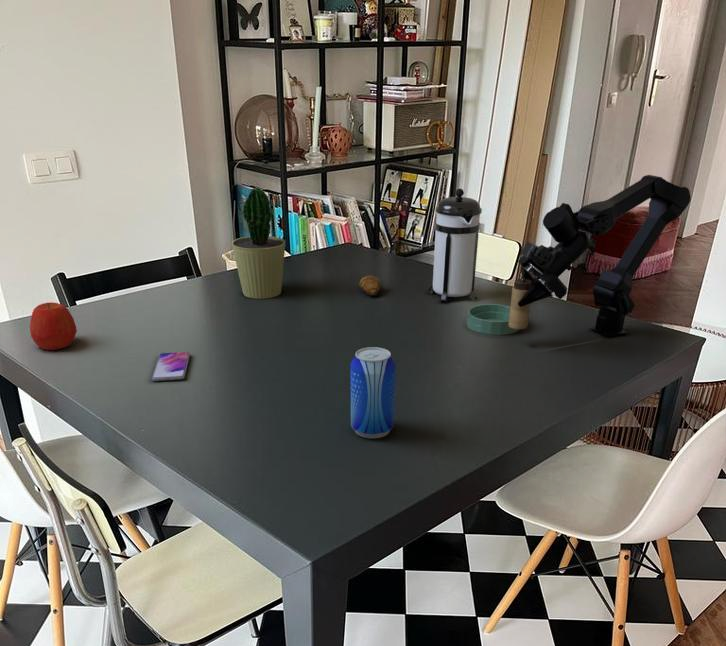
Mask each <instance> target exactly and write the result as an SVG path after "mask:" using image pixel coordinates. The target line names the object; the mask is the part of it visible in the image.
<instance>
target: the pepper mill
mask: <svg viewBox="0 0 726 646" xmlns="http://www.w3.org/2000/svg"><path fill="white" fill-rule="evenodd" d="M531 283H532V282H531V281H530V280H527V279H525V278H522V279H521V278H516V279H514V283H513V286H512V289H511V295H512V297H511V296H510V306H509V307H510V315H509V324H508V326H509V327H510V328H513V329H520V330H525V329H527V328H528V325H529V318H530V317H529V316H530V308H531V303H530V304H527V305H525V306H522V307H520V306H519V305H518V302H519V301H520V300H521V298H522V297H523V296H524V295H525V294H526V293H527V291H528V290H529V289H530V288H531Z"/></svg>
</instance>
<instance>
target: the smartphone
mask: <svg viewBox="0 0 726 646" xmlns="http://www.w3.org/2000/svg"><path fill="white" fill-rule="evenodd" d="M190 356H191V353H190V352H189V351H176V352H161V353H159V355H158V358H157V361H156V364H155V366H154V370H153V373H152V376H151V381H153V382H159V381H162V382H163V381H175V380H183V379H185V377H186V373H187V368H188V364H189V361H190Z"/></svg>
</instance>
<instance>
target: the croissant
mask: <svg viewBox="0 0 726 646" xmlns="http://www.w3.org/2000/svg"><path fill="white" fill-rule="evenodd" d="M358 286H359V288H360V290H361V291H362V292H363V293H365V294H366V295H367V296H369V297H372V298H374V297H376V296H377V295H378V293H379V292H380V290H381V287H382V282H381V280H380V278H379V277H378V276H375V275H371V274H369V275H366V276H363V277H362V278H361V279H360V281H359V283H358Z"/></svg>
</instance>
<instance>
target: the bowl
mask: <svg viewBox="0 0 726 646" xmlns="http://www.w3.org/2000/svg"><path fill="white" fill-rule="evenodd" d="M466 313H467V314H466V315H467V316H466V326H467V328H468V329H470V330H471V331H473V332H476V333H479V334H484V335H490V336H503V335H512V334H515V333H518V331H520V330H521V329H513V328H510V327H509V326H508V324H509V315H510V306H509V305H504V304H495V303H488V304H487V303H486V304H485V303H483V304H478V305H474V306H471V307H470V308H468V310H467V312H466Z"/></svg>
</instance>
